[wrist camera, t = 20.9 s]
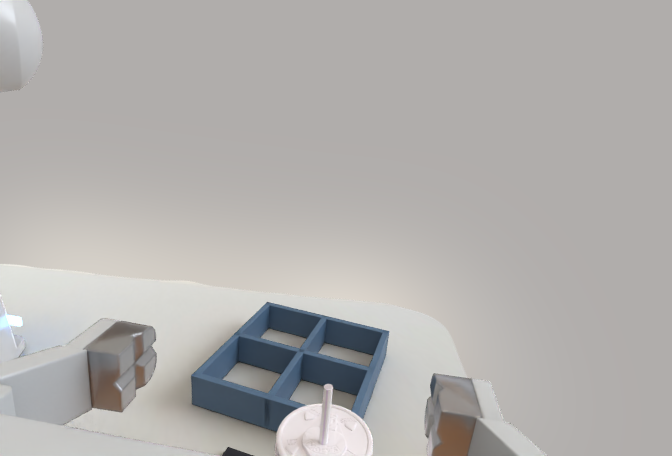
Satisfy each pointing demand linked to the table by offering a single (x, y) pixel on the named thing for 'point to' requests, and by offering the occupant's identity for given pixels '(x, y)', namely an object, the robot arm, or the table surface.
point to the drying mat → (234, 453)
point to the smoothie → (323, 431)
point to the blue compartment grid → (288, 365)
